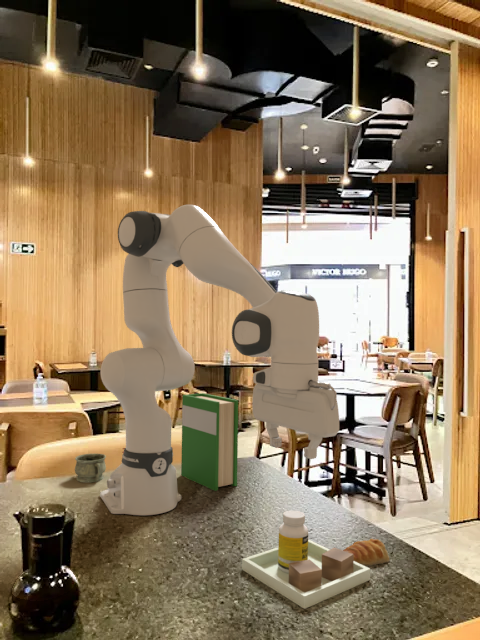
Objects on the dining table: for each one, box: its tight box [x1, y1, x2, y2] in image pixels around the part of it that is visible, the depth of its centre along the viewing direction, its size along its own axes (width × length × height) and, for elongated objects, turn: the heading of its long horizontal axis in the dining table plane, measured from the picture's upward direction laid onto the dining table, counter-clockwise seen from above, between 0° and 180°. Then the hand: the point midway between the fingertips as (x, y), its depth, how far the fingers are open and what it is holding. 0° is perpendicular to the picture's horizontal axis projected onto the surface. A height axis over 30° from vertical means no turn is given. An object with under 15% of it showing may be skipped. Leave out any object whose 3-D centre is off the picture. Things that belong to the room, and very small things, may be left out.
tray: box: [241, 538, 371, 610], centre depth 92 cm, size 16×16×2 cm
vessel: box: [74, 453, 107, 483], centre depth 149 cm, size 12×9×6 cm
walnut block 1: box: [289, 560, 322, 593], centre depth 86 cm, size 4×4×4 cm
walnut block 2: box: [322, 547, 354, 581], centre depth 91 cm, size 4×4×4 cm
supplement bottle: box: [278, 510, 309, 573], centre depth 94 cm, size 5×5×10 cm
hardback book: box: [180, 392, 239, 492], centre depth 149 cm, size 18×7×24 cm, turn 38°
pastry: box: [342, 538, 390, 567], centre depth 99 cm, size 9×7×4 cm
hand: (292, 452), depth 96 cm, fingers open, 8 cm apart
